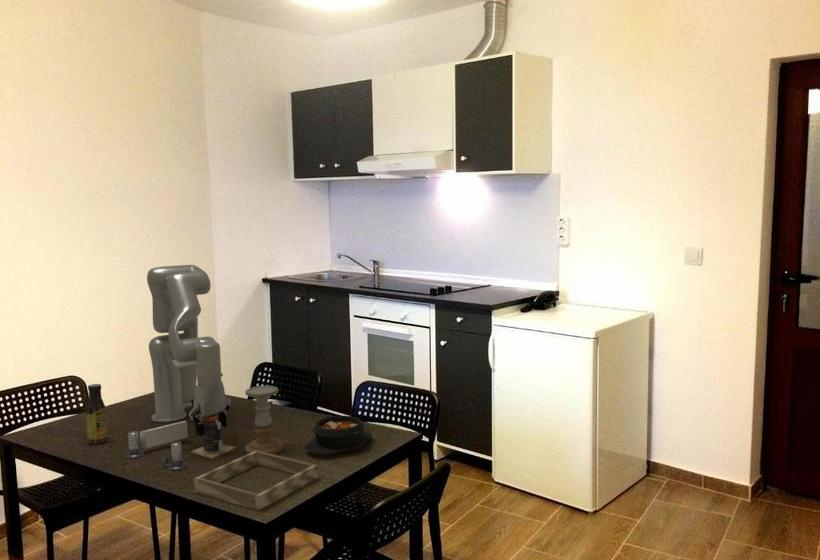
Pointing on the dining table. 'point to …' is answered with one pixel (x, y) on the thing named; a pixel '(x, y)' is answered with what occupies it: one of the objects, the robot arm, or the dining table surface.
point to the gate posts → (175, 452)
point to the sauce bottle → (96, 416)
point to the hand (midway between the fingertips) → (211, 430)
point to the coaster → (213, 454)
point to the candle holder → (263, 421)
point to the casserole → (338, 435)
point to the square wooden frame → (215, 489)
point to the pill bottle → (212, 434)
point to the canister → (187, 379)
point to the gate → (163, 434)
